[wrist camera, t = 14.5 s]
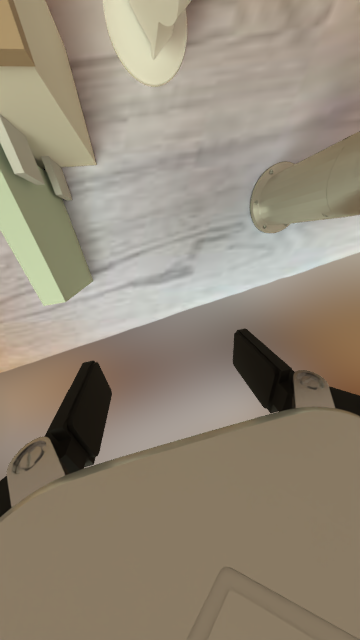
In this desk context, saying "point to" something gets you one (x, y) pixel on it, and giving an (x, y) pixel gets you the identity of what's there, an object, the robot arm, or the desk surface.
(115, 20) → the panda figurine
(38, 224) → the door
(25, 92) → the cabinet
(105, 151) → the desk surface
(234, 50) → the desk surface
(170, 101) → the desk surface
